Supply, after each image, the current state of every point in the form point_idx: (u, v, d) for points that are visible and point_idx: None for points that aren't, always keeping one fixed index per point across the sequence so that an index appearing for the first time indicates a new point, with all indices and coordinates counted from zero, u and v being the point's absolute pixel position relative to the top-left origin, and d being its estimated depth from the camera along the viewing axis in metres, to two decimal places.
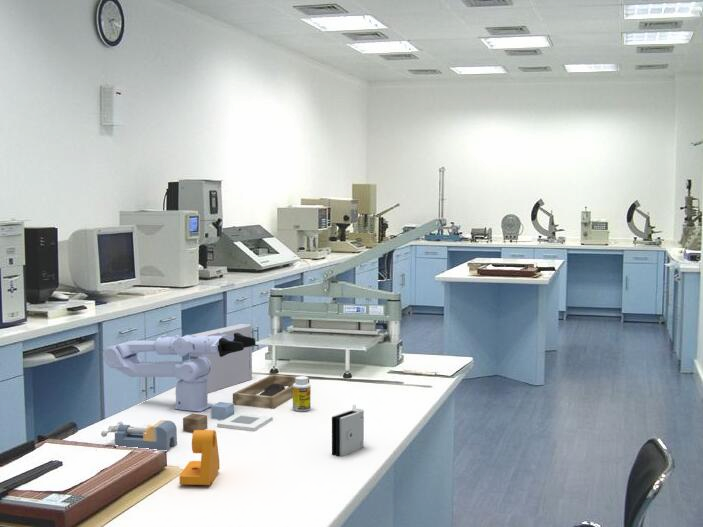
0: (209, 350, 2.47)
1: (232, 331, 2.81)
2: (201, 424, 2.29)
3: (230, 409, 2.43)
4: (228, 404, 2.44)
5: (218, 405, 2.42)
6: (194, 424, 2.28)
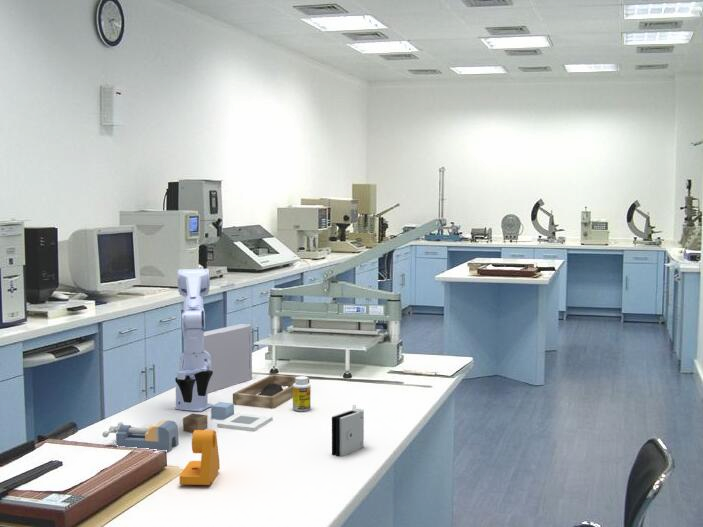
0: (185, 357, 2.27)
1: (232, 331, 2.81)
2: (201, 424, 2.29)
3: (230, 409, 2.43)
4: (228, 404, 2.44)
5: (218, 405, 2.42)
6: (194, 424, 2.28)
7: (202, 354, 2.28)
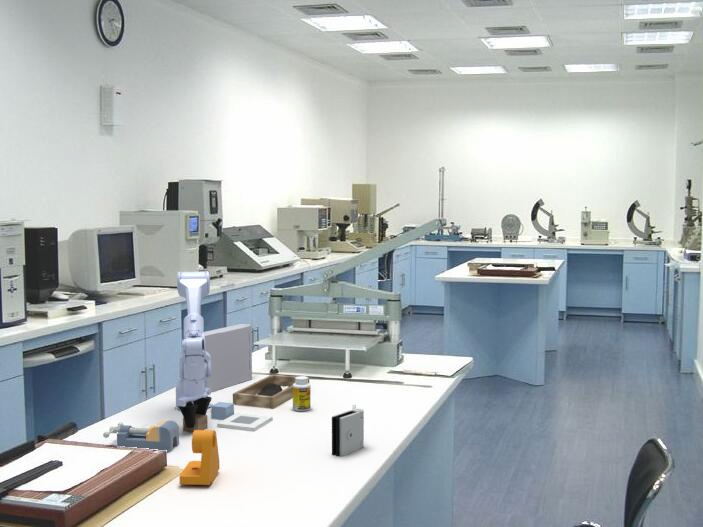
0: (185, 383, 2.28)
1: (232, 331, 2.81)
2: (201, 424, 2.29)
3: (230, 409, 2.43)
4: (228, 404, 2.44)
5: (218, 405, 2.42)
6: (194, 424, 2.28)
7: (202, 380, 2.29)
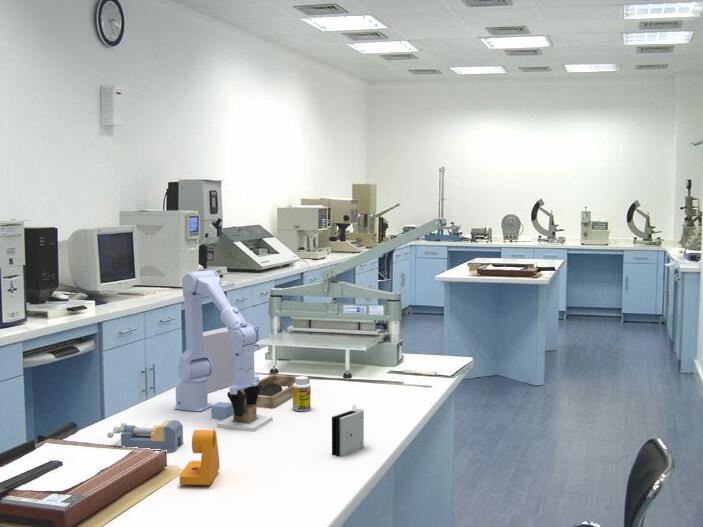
0: (236, 372, 2.34)
1: None
2: (251, 413, 2.35)
3: (230, 409, 2.43)
4: (228, 404, 2.44)
5: (218, 405, 2.42)
6: (244, 413, 2.34)
7: (253, 369, 2.35)
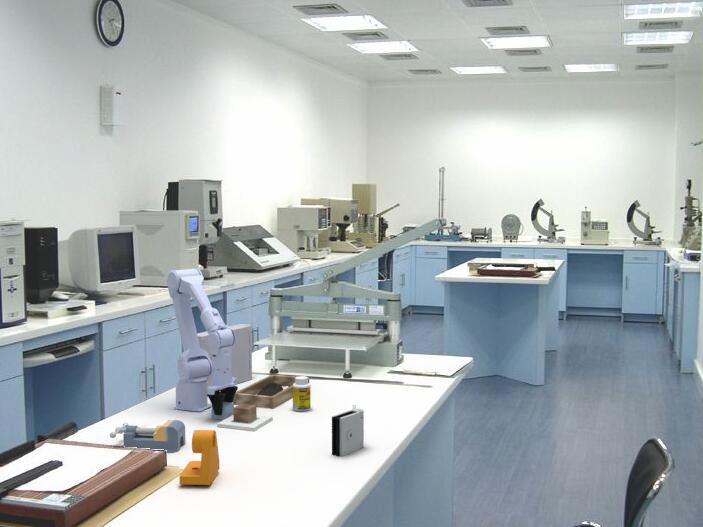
0: (214, 373, 2.41)
1: None
2: (251, 413, 2.35)
3: (230, 408, 2.43)
4: (228, 403, 2.44)
5: None
6: (244, 413, 2.34)
7: (230, 370, 2.41)
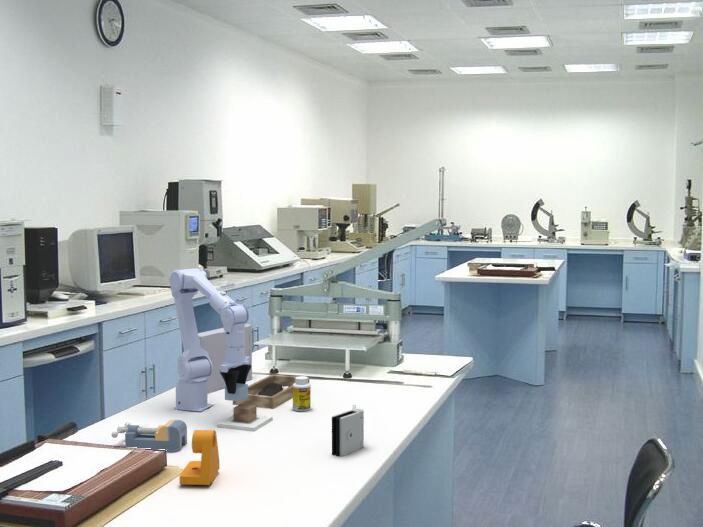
0: (227, 351, 2.36)
1: None
2: (251, 413, 2.35)
3: (244, 390, 2.38)
4: (242, 385, 2.39)
5: None
6: (244, 413, 2.34)
7: (243, 348, 2.37)
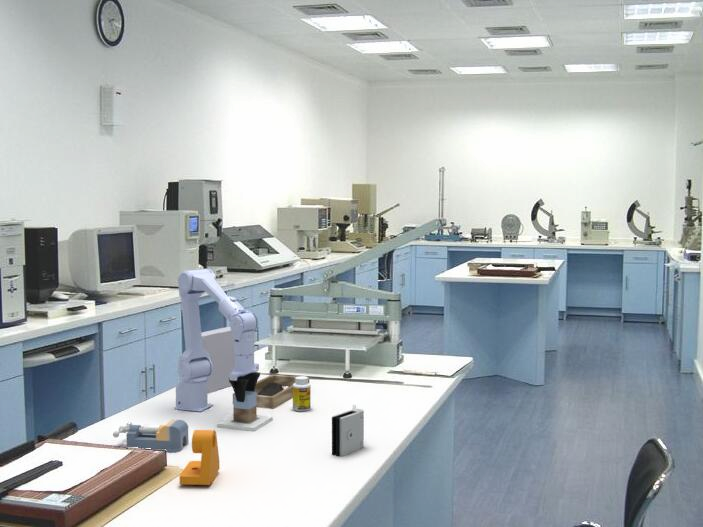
0: (236, 358, 2.33)
1: None
2: (251, 413, 2.35)
3: (253, 398, 2.36)
4: (250, 392, 2.37)
5: None
6: (244, 413, 2.34)
7: (252, 356, 2.34)
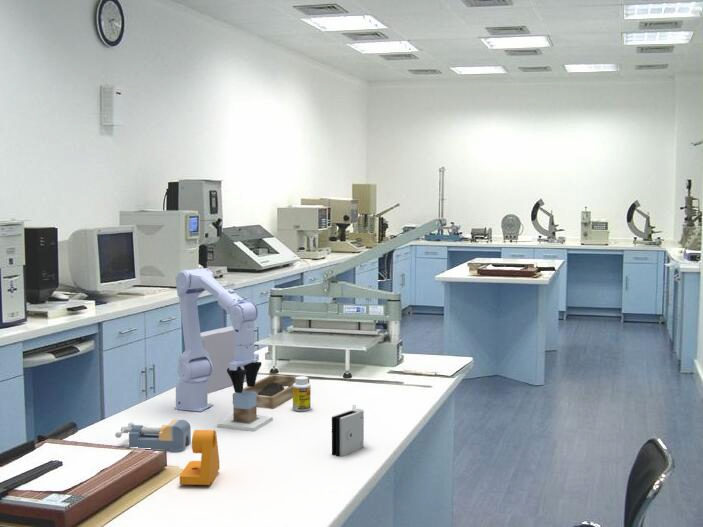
0: (236, 348, 2.33)
1: (232, 331, 2.81)
2: (251, 413, 2.35)
3: (253, 398, 2.36)
4: (250, 392, 2.37)
5: (240, 393, 2.35)
6: (244, 413, 2.34)
7: (252, 346, 2.34)
